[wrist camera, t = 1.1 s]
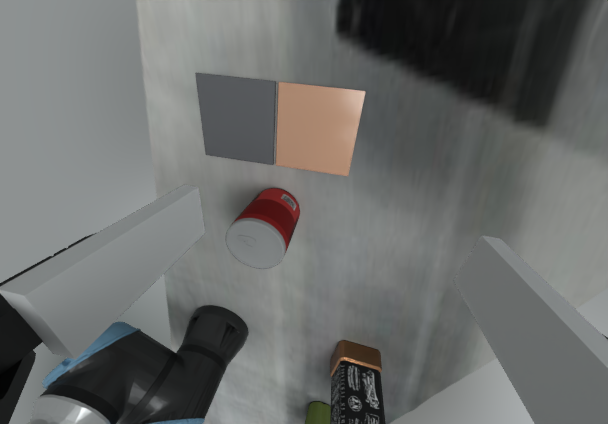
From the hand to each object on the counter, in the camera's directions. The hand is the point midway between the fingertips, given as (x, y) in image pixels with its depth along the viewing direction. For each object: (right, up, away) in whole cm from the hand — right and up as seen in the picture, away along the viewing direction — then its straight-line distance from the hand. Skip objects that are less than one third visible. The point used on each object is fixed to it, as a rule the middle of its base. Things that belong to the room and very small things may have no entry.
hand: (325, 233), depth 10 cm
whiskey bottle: (+11, -35, +43) cm, 56 cm away
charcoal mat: (-11, +14, +21) cm, 27 cm away
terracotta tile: (+1, +12, +20) cm, 23 cm away
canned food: (-5, +2, +27) cm, 27 cm away
